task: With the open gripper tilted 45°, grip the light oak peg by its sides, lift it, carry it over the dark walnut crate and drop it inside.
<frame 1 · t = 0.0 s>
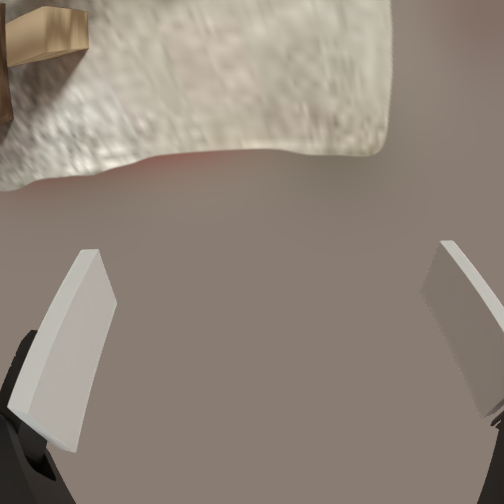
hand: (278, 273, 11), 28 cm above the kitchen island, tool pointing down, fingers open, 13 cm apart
oak peg: (70, 34, 25), on the kitchen island
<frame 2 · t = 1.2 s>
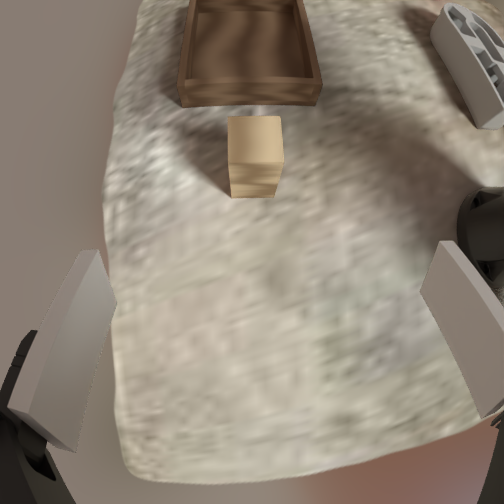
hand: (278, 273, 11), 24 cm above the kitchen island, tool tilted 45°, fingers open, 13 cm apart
grey compartment tray: (471, 75, 43), on the kitchen island
oak peg: (252, 178, 37), on the kitchen island
walnut crate: (247, 50, 41), on the kitchen island
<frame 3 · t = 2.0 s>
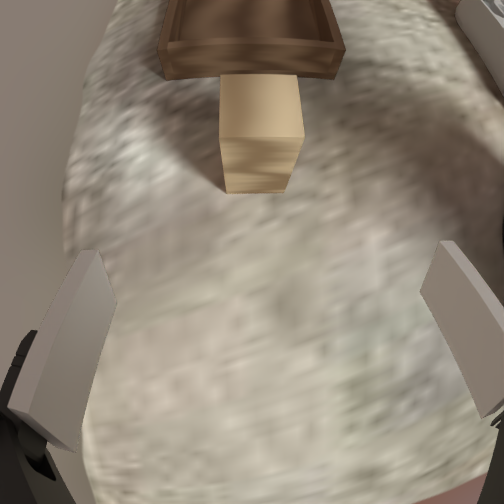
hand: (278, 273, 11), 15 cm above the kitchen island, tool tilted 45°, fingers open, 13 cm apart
grey compartment tray: (501, 62, 34), on the kitchen island
oak peg: (254, 167, 28), on the kitchen island
walnut crate: (248, 16, 31), on the kitchen island
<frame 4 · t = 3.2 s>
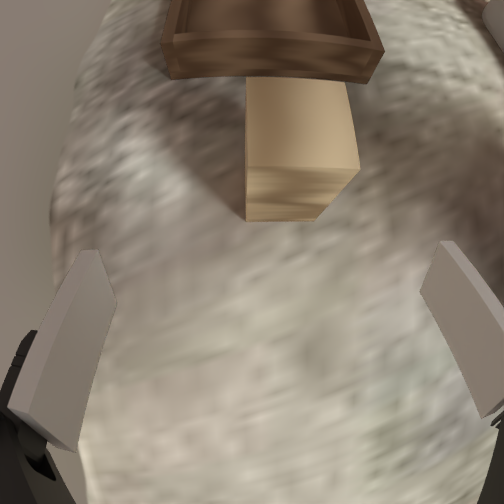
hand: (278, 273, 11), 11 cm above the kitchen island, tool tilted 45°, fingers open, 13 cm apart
oak peg: (278, 189, 23), on the kitchen island
walnut crate: (266, 8, 26), on the kitchen island
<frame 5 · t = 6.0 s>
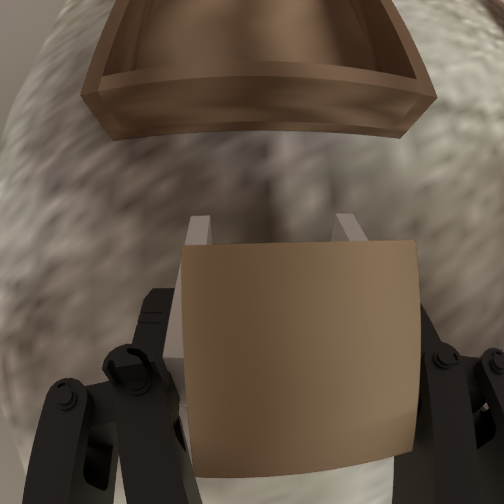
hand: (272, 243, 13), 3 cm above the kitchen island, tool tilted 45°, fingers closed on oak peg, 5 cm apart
oak peg: (269, 327, 16), on the kitchen island, touching gripper
walnut crate: (254, 17, 19), on the kitchen island
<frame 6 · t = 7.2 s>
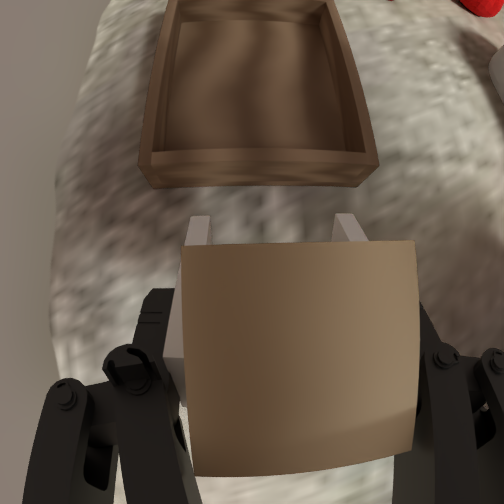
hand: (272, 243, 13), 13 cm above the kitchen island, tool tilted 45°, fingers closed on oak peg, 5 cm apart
oak peg: (269, 327, 16), point 9 cm above the kitchen island, touching gripper
walnut crate: (253, 85, 28), on the kitchen island
tomato: (467, 6, 36), on the kitchen island
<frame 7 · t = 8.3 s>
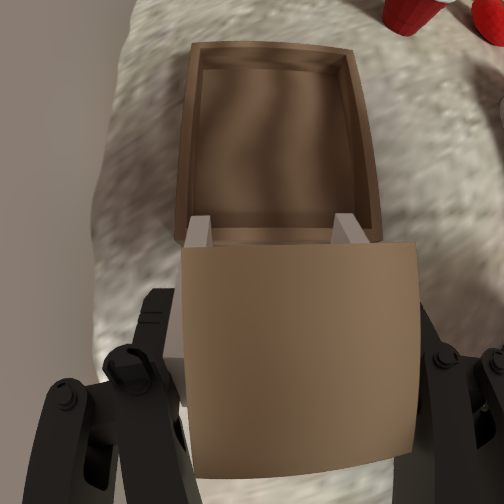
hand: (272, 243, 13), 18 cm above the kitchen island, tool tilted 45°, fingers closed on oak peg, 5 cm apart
oak peg: (269, 328, 16), point 15 cm above the kitchen island, touching gripper
plastic cup: (396, 25, 36), on the kitchen island
walnut crate: (274, 145, 32), on the kitchen island
tomato: (483, 33, 38), on the kitchen island
when the fingers open (11 cm above the kitchen island, at t = 11.2 s): oak peg drops 7 cm, resting on walnut crate.
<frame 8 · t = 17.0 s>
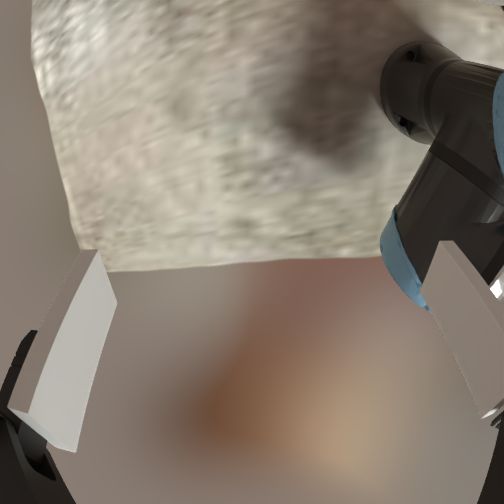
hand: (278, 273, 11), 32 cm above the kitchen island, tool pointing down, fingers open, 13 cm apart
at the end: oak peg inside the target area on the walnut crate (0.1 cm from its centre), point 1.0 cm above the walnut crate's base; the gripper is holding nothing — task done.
